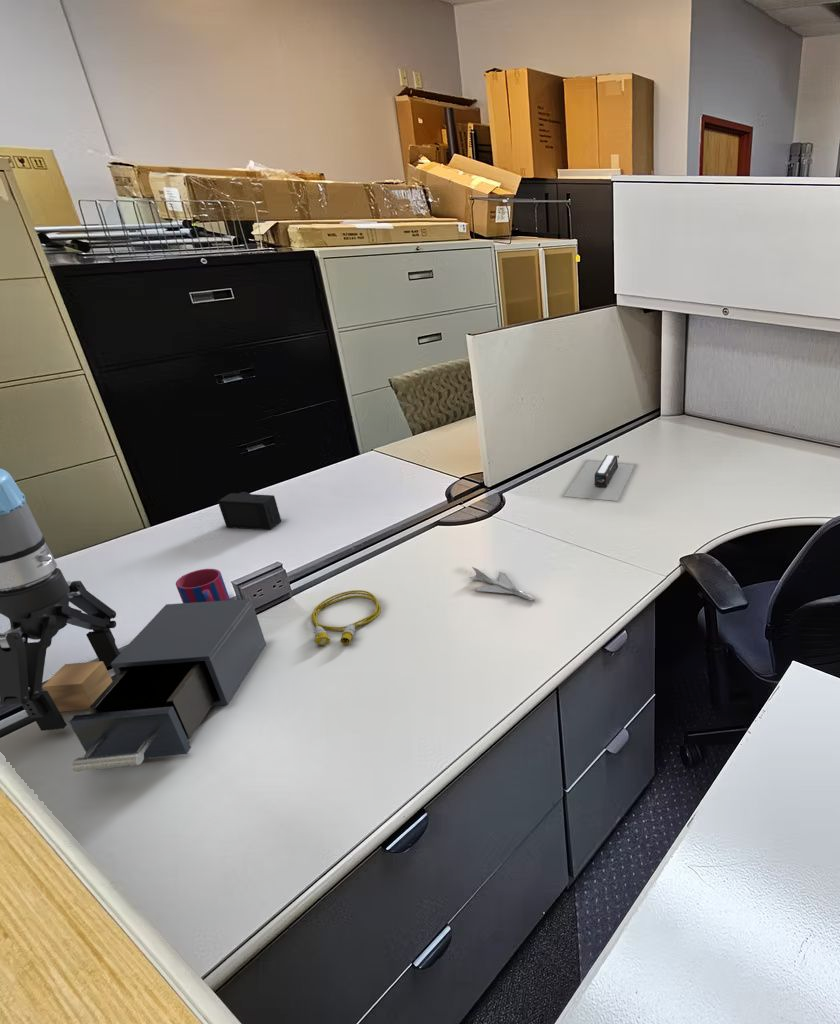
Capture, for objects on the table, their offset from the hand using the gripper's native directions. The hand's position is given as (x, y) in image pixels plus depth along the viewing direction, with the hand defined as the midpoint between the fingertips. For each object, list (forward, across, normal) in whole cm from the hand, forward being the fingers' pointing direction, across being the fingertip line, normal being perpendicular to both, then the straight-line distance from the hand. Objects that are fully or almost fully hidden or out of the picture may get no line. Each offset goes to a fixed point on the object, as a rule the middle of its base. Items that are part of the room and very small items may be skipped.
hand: (85, 694), depth 94 cm
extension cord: (+1, +16, -32) cm, 36 cm away
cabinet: (+1, +3, -15) cm, 15 cm away
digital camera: (+1, +57, -2) cm, 57 cm away
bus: (+2, +75, -84) cm, 112 cm away
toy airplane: (+2, +24, -59) cm, 63 cm away
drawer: (0, -10, -15) cm, 18 cm away
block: (+1, 0, 0) cm, 1 cm away
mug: (+1, +21, -8) cm, 22 cm away
